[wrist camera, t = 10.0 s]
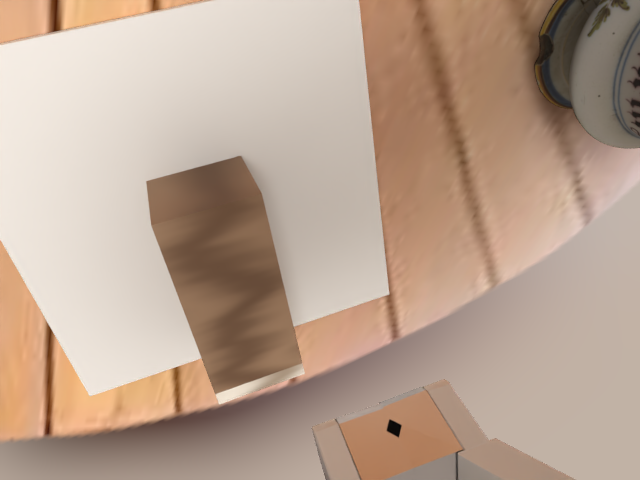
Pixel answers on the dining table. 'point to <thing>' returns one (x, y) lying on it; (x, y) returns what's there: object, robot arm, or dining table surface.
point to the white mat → (184, 165)
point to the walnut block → (226, 275)
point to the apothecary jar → (594, 66)
